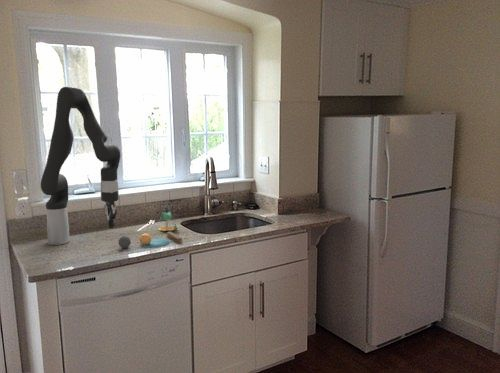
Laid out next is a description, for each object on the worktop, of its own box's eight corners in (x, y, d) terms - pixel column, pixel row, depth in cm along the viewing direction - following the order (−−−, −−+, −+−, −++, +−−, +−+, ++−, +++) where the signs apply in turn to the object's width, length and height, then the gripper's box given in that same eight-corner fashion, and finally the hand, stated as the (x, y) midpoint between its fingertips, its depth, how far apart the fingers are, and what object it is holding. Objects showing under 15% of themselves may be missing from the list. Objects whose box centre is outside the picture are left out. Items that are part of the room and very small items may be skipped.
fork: (134, 232, 234) (134, 228, 234) (150, 222, 253) (150, 219, 253) (140, 232, 233) (140, 228, 233) (155, 223, 253) (155, 219, 252)
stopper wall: (178, 243, 211) (178, 238, 211) (167, 236, 223) (167, 232, 222) (182, 243, 212) (181, 238, 212) (170, 236, 224) (170, 231, 223)
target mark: (145, 249, 203) (145, 249, 203) (136, 241, 214) (136, 241, 214) (174, 244, 210) (174, 244, 210) (163, 237, 222) (163, 237, 222)
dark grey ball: (129, 233, 204) (135, 243, 206) (122, 234, 208) (128, 243, 209) (120, 240, 200) (126, 250, 202) (114, 240, 204) (119, 250, 206)
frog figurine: (165, 236, 225) (163, 207, 224) (154, 231, 241) (152, 205, 239) (183, 233, 230) (180, 205, 229) (171, 229, 245) (168, 202, 244)
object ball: (141, 233, 206) (152, 232, 209) (137, 234, 210) (148, 232, 213) (142, 245, 205) (153, 243, 208) (138, 245, 210) (149, 244, 213)
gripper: (97, 188, 200) (98, 225, 203) (104, 193, 189) (106, 232, 192) (114, 187, 204) (115, 223, 207) (122, 191, 193) (123, 230, 196)
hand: (110, 227), depth 200 cm, fingers closed
